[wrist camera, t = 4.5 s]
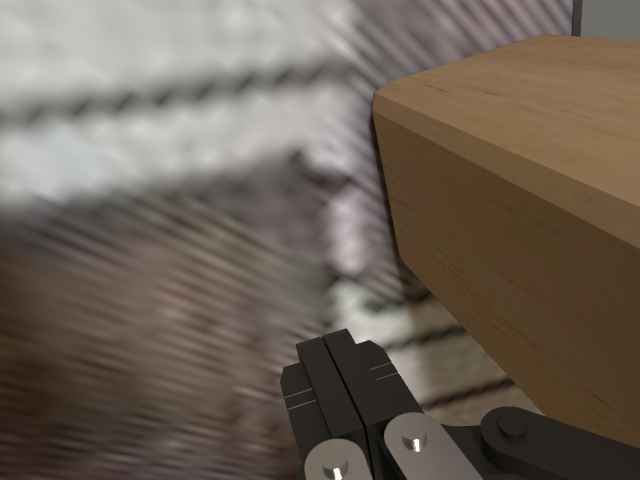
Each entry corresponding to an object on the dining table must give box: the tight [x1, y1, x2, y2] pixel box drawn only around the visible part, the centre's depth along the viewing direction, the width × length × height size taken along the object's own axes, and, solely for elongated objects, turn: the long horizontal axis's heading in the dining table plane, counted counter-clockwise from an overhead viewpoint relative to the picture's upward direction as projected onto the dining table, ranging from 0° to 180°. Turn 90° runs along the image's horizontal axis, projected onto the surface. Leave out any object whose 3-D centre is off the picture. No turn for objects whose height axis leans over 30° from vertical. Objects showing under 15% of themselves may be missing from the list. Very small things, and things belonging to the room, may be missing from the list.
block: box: [372, 34, 640, 449], centre depth 18 cm, size 10×10×20 cm
